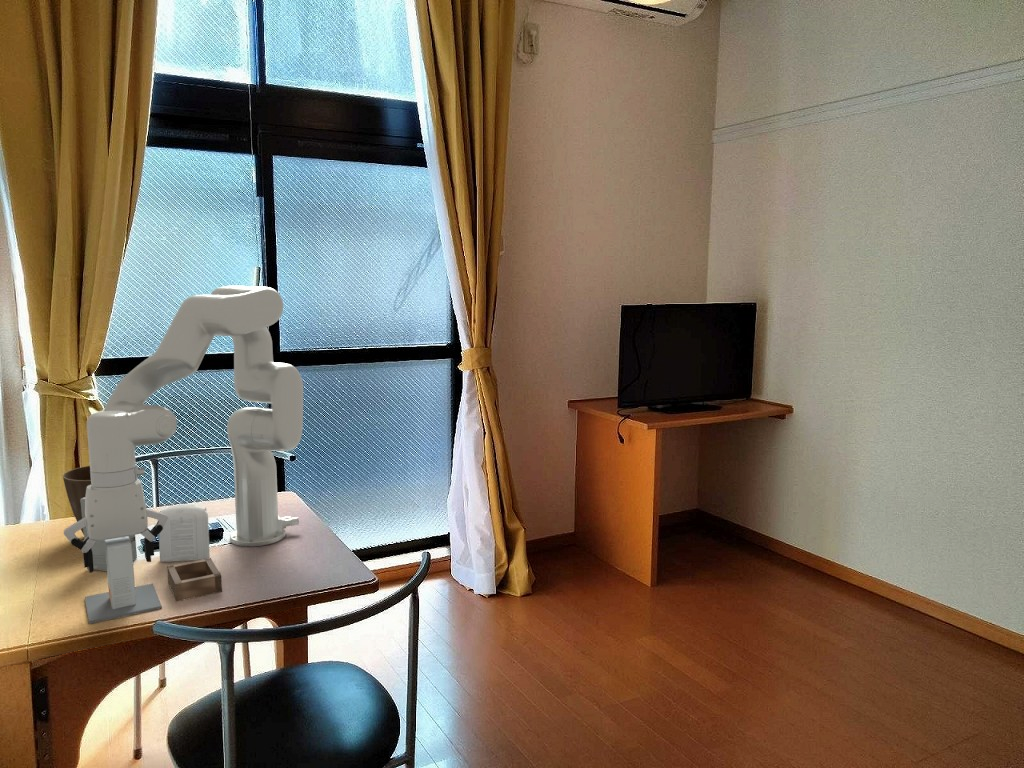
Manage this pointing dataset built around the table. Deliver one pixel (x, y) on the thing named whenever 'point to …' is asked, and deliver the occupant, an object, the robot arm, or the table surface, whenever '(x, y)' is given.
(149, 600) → the grey mat
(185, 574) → the frame
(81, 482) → the plant pot
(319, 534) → the table surface
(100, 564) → the skincare box
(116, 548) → the skincare box
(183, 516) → the photo printer
